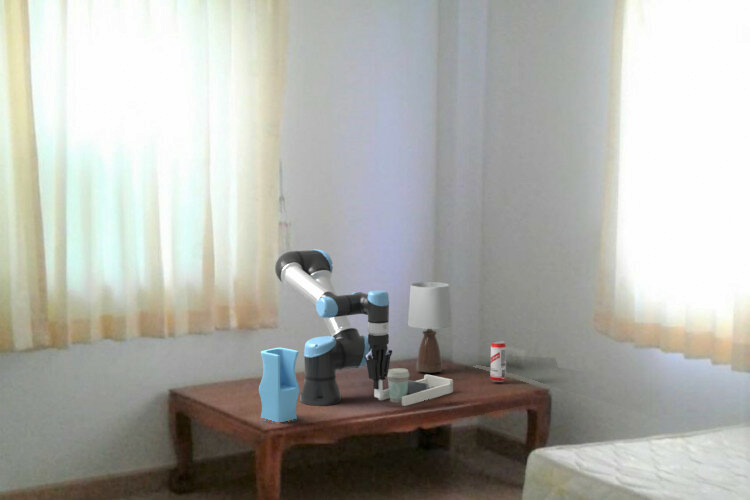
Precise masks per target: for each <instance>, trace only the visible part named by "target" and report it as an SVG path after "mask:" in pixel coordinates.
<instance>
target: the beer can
mask: <svg viewBox="0 0 750 500" xmlns="http://www.w3.org/2000/svg"><path fill="white" fill-rule="evenodd" d="M489 376H490V380H491V381H492V382H493V383H502V382H505V380H506V379H507V346H506V342H505V341H503V340H493V341H492V343H491V345H490V375H489Z"/></svg>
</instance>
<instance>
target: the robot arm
mask: <svg viewBox="0 0 750 500" xmlns="http://www.w3.org/2000/svg"><path fill="white" fill-rule="evenodd" d="M332 261H333V260H332V258H331V256H330V255H329V253H327V252H326V251H325V250H322V249H314V248H312V249H310V250H293V251H292V250H291V251H290V250H289V251H287V252H284V253H283V254H281V255H280V256H279V257H278V259H277V261H276V262H275V265H274V266H275V267H274V268H275V269H274V272H275V274H276V277H277V279H278V280H279V281H280V282H281V283H282V284H284V285H286V286H291V287H292V288H293V289H295V290H296V291H297V292H298V293H300V295H302V296H304V297H305V298H306V299H307V300H308V301H310V302H311V303H312V304H313V305H315V309H316V312H317V314H318V316H319V317H320V318H323V321H324V322H325V325H326V327H327V330H328V331H329V333H330V336H329V335H324V336H316V337H312V338H310V339H309V340H307V341H306V342H305V344H304V351H303V355H304V383H303V385H302V389H301V392H300V393H299V394H300V395H299V400H300V403H302V404H304V405H307V404H308V406H317V405H319V406H330V405H334V404H335V405H336V404H338V403H340V402H341V400H342V398H341V392H340V389H339V385H338V381H337V372H338V371H343V370H349V369H358V368H361V367H365V366H366V367H367V373H368V379H370V380H373V390H374V392H373V395H374V398H377V399H378V398H383V390H384V389H383V388H384V380H386V379H387V378H388V370H389V369H390V364H391V363H390V362H391V356H392V354H393V350H391V349H389V346H388V344H389V343H390V342H389V341H390V340H389V339H390V335H389V328H390V327H389V326H390V325H389V324H390V323H389V321H390V319H389V317H390V312H389V311H390V301H389V299H390V297H389V292H387V291H386V290H381V289H380V290H379V289H376V290H370V291H368V293H366V292H365V293H364V292H362V291H361V292H358V291H354V292H352V293H351V294H344V295H337V292H336V291H335V288H334V286H333V284H332V281H331V278H332V273H333V268H334V267H333V262H332ZM354 315H366V316H367V333H368V335H367V336H365V335H360V333H359V330H358V329H357V328H356V327H352V325H351V323H350V320H349V318H348V316H354Z"/></svg>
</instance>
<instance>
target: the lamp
mask: <svg viewBox="0 0 750 500" xmlns="http://www.w3.org/2000/svg"><path fill="white" fill-rule="evenodd" d="M409 288H410V290H409V303H408V304H409V305H408V319H407V320H408V321H407V325H408V327H410V328H413V329H414V328H415V329H424V330H423V331H422V334H423V337H422V339H421V342H420V344H419V348H418V355H417V360H416V371H417V372H421V373H430V374H431V373H438V372H441V371H443V360H442V354H441V348H440V344H439V341H438V339H437V335H436V334H437V331H435V329H436V330H437V329H438V330H440V329H447V328H450V327H452V312H451V311H452V310H451V296H450V295H451V293H450V284H449V283H444V282H437V281H434V282H433V281H427V282H426V281H424V282H413V283H410V287H409Z"/></svg>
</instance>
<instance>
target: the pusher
mask: <svg viewBox="0 0 750 500" xmlns="http://www.w3.org/2000/svg"><path fill="white" fill-rule="evenodd" d="M416 381H417V380H411V379H408V393H407V394H408V395H410V394H413V393H417V392H420V391H424V390H427V389H430V388H434V386H431V387H428V384H426V383H421V382H416Z"/></svg>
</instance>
